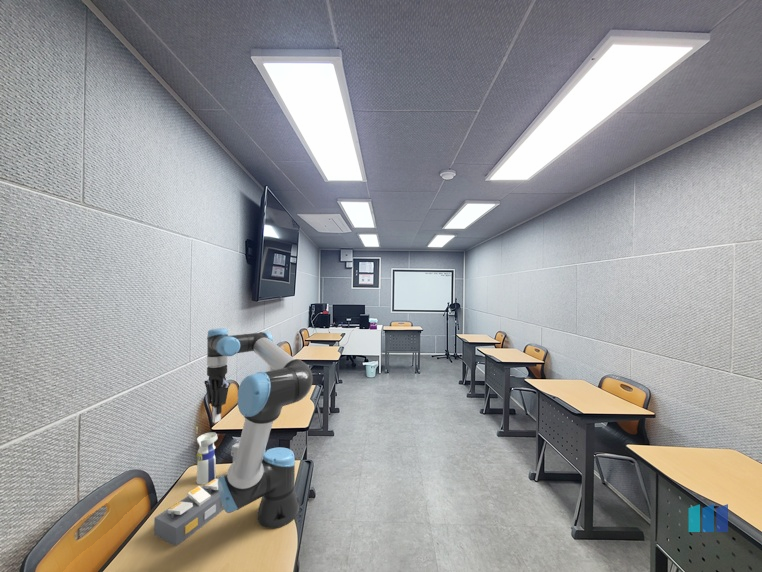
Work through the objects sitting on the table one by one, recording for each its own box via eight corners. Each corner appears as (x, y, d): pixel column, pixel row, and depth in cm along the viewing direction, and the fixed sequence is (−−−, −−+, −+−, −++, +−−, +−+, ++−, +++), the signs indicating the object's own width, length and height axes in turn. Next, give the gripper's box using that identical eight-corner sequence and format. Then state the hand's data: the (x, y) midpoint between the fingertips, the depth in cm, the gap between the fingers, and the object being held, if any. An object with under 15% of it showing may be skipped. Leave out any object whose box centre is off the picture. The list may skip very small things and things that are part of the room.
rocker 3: (227, 483, 118) (226, 479, 118) (217, 490, 113) (216, 486, 114) (215, 481, 120) (214, 478, 120) (205, 488, 116) (204, 484, 116)
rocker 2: (210, 498, 111) (210, 495, 111) (199, 505, 107) (199, 502, 107) (198, 488, 114) (199, 485, 114) (187, 495, 110) (188, 492, 110)
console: (237, 499, 119) (237, 480, 119) (176, 546, 97) (177, 523, 97) (216, 491, 124) (216, 473, 124) (154, 534, 102) (154, 512, 102)
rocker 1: (192, 506, 105) (192, 502, 105) (180, 514, 101) (179, 510, 101) (180, 505, 107) (180, 501, 107) (167, 513, 103) (167, 509, 103)
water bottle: (203, 487, 126) (204, 429, 127) (191, 481, 130) (192, 425, 131) (221, 476, 134) (221, 421, 135) (209, 471, 138) (209, 418, 138)
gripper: (235, 364, 124) (235, 420, 124) (214, 361, 129) (214, 415, 129) (220, 369, 117) (219, 427, 117) (198, 365, 123) (197, 422, 122)
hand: (216, 421), depth 123 cm, fingers closed
